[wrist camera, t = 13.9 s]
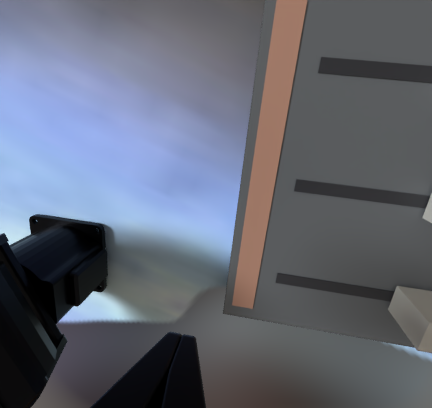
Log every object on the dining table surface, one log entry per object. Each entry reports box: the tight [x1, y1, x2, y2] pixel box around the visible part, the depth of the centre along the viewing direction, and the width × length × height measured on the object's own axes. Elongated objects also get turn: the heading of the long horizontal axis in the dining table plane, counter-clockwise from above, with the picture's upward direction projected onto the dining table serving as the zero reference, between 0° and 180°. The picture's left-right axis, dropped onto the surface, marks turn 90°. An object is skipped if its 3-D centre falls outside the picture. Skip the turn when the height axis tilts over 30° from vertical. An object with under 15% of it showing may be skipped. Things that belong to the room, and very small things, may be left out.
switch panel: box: [223, 0, 432, 347], centre depth 17 cm, size 18×22×2 cm
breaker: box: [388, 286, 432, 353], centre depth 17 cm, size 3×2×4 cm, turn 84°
